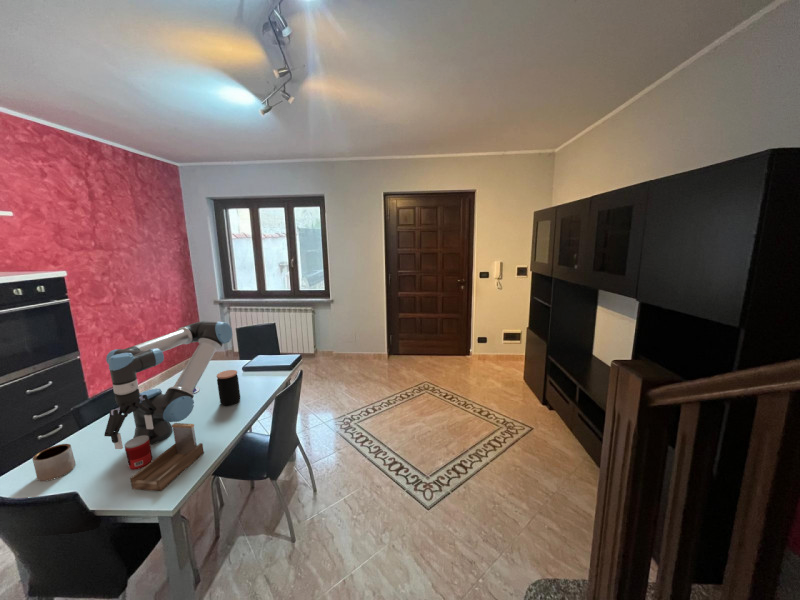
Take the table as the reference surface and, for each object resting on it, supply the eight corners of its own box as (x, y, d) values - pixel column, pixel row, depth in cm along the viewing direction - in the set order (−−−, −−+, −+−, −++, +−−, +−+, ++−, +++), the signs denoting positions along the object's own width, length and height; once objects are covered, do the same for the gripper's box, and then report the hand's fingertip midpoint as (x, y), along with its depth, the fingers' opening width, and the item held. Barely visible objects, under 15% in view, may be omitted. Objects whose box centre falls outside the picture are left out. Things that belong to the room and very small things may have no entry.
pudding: (184, 388, 204) (183, 381, 203) (203, 387, 205) (202, 379, 204) (173, 397, 192) (172, 389, 191) (194, 396, 194) (192, 388, 193)
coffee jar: (244, 397, 189) (241, 370, 186) (233, 406, 179) (229, 377, 175) (228, 397, 190) (224, 369, 187) (216, 406, 180) (212, 377, 177)
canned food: (157, 459, 136) (153, 436, 134) (137, 471, 128) (133, 448, 126) (144, 456, 138) (140, 433, 136) (124, 468, 131) (119, 445, 129)
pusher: (176, 453, 138) (171, 425, 135) (179, 451, 139) (174, 422, 137) (195, 455, 137) (190, 426, 134) (198, 452, 138) (193, 424, 136)
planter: (76, 471, 130) (71, 450, 128) (37, 486, 122) (31, 464, 120) (75, 459, 137) (70, 440, 135) (37, 473, 129) (32, 452, 127)
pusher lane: (132, 489, 119) (130, 478, 119) (179, 451, 141) (177, 441, 140) (161, 491, 118) (159, 480, 117) (203, 453, 139) (202, 443, 138)
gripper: (102, 407, 114) (112, 458, 118) (161, 378, 139) (168, 421, 142) (84, 406, 115) (95, 457, 119) (146, 377, 140) (154, 421, 143)
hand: (135, 438), depth 131 cm, fingers open, 13 cm apart
